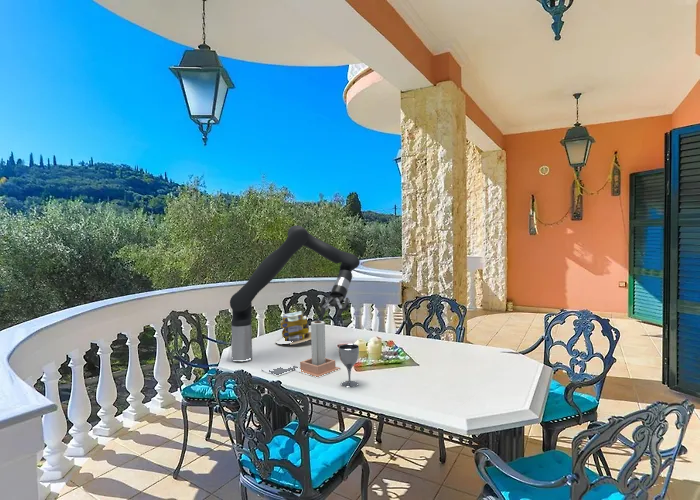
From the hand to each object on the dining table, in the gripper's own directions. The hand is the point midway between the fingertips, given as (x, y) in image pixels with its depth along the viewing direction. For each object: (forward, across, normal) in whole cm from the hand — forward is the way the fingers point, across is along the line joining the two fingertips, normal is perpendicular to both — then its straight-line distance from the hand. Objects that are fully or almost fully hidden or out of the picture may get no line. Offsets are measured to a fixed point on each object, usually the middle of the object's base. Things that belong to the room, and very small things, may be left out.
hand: (329, 316), depth 184 cm
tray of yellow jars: (-3, -36, +34) cm, 50 cm away
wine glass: (+30, +20, 0) cm, 37 cm away
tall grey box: (+24, 0, +7) cm, 25 cm away
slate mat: (+28, -16, +3) cm, 32 cm away
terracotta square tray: (+24, 0, +7) cm, 25 cm away
